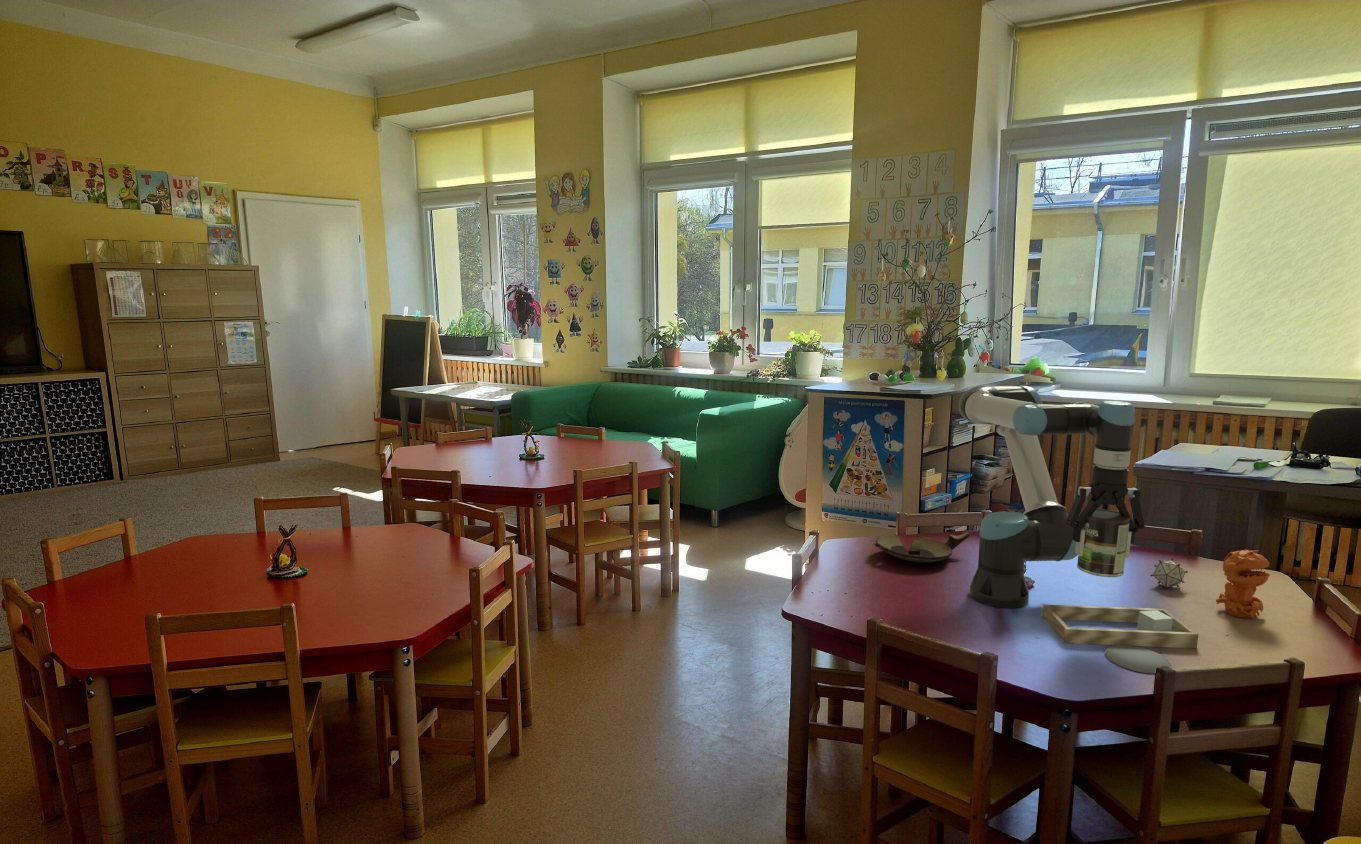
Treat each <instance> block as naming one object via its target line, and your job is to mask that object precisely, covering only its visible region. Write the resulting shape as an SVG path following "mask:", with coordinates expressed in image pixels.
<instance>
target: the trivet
mask: <svg viewBox="0 0 1361 844" xmlns="http://www.w3.org/2000/svg"><path fill="white" fill-rule="evenodd" d="M1104 655H1105V658H1107V660H1108V661H1110V662H1111V663H1113V664H1114V665H1116V666H1119V667H1122V668H1124V669H1126V670H1129V671H1132V672H1133V671H1134V672H1136V673H1143V674H1149V675H1151V674H1155V670H1156V668H1157V667H1161V666H1169V667H1171V668H1172V663H1171V662H1170V661H1169V659H1168V658H1166V657H1165V656H1164V655H1162V654H1160V653H1158V652H1156V651H1154V650H1150V649H1147V648H1145V647H1141V646H1128V645H1111V646H1109V647H1106V649H1105V652H1104ZM1155 675H1156V674H1155Z"/></svg>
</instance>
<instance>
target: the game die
mask: <svg viewBox="0 0 1361 844" xmlns="http://www.w3.org/2000/svg"><path fill="white" fill-rule="evenodd" d="M1158 562H1159V563H1157V565H1156V564H1153V566H1154V567H1155V568H1154V571H1153V573H1152V574H1150V575H1149V576H1151V577H1154V579H1156V580H1157V584H1161V585H1163V586H1164V590H1165V591H1166V590H1167V589H1168V588H1170V587H1177V588H1178V589H1179V588H1180V584H1181V583H1183V584H1184V583H1185V581H1184V580H1183V579H1184V577H1185V574H1188V573H1189V571H1187V570H1186V571H1185V570H1184V569H1183V568H1182V567H1181V563H1177V562H1175V561H1174V558H1173V557H1171V558H1170V560H1165V561H1161V559H1158Z"/></svg>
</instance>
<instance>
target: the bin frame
mask: <svg viewBox="0 0 1361 844" xmlns="http://www.w3.org/2000/svg"><path fill="white" fill-rule="evenodd" d="M1041 608H1042V610H1041V611H1042V612H1041V618H1042V620H1044V622H1045V623H1046V624H1047V625H1048V626H1049V627H1050V628H1051V629H1052V630H1053V631H1054V633H1055V634H1056V635H1057V637H1059V638H1060V639H1061V640H1062V641H1063V643H1064V644H1081V645H1103V646H1107V645H1108V646H1110V645H1111V646H1116V645H1128V646H1135V647H1155V648H1157V647H1158V648H1173V649H1175V648H1177V649H1178V648H1179V649H1198V641H1199V636H1200V635H1199V634H1198V633H1197V632H1196V631H1194V630H1193V629H1192V628H1191V627H1189V625H1187V624H1185V623H1184V622H1183V621H1181V619H1179V618H1177V617H1176V616H1175V615H1174V614H1172V613H1171V612H1170V611H1169V610H1166V609H1165V608H1150V607H1149V608H1148V607H1147V608H1146V607H1144V608H1143V607H1124V606H1123V607H1120V606H1098V605H1097V606H1095V605H1094V606H1092V605H1070V604H1069V605H1066V604H1065V605H1063V604H1042V607H1041ZM1154 610H1158V611H1159V612H1161V613H1163V614H1165V615H1167V616H1169V617H1171V618H1173V622H1172V631H1171V632H1167V631H1142V630H1137V629H1114V628H1110V629H1109V628H1087V627H1086V628H1085V627H1069V626H1068V625H1067V624H1066V623H1065V622H1064V621H1065V620H1067V621H1087V622H1088V621H1089V622H1090V621H1091V622H1095V621H1096V622H1116V623H1117V622H1118V623H1137V624H1138V619H1139V612H1140V611H1154Z"/></svg>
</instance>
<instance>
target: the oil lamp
mask: <svg viewBox="0 0 1361 844" xmlns="http://www.w3.org/2000/svg"><path fill="white" fill-rule="evenodd" d="M970 535H971V534H970V532H963V533H962V534H960V535H953V534H949V535H948V539H947V541H946V542H943V541H939V540H937V539H934V538H932V537H927V536H923V535H921V536H919V537H913V539H912V541H911V542H912V543H911V545H910V548H909V551H908V550H907V548H906V547H905V546H904V544H903V543H902V541H901V539H900V538H899V536H898V534H896V533H893V534H892V533H887V534H882V535H880V536H878V537H877V538H876V542H875V543H874V546H875V547H877V548H879V550H881V551H883V552H885V553H888V554H889V555H891V556H893V557H895V558H897V559H900V560H904V561H906V562H912V563H919V564H926V563H927V564H928V563H934V562H939V561H942V560H945V559H948V558H950V557H951V556H952V554H953V551H954V549H955V548H956V547H958V546H959V545H961V544H962V543H963V542H964V541H966V540H967V539H968V538H969V537H970ZM913 554H919V555H913Z"/></svg>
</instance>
